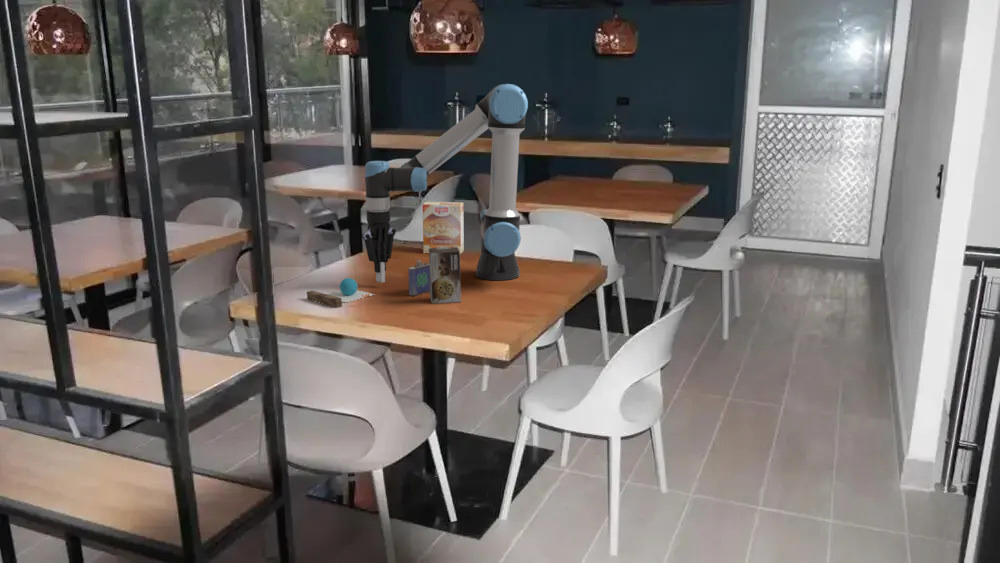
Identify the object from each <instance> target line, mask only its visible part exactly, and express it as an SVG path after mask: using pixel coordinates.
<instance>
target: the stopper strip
mask: <svg viewBox="0 0 1000 563" xmlns="http://www.w3.org/2000/svg"><path fill="white" fill-rule="evenodd" d="M327 294H328V293H323V292H319V291H316V290H308V291H306V298H307V299H309V300H308V301H311V300H313V301H312V302H314V301H316V302H315V303H318V302H320V303H319V304H321V303H323V305H325V304H326V305H325V306H328V305H330V306H329V307H332V306H333V308H336V309H337V307H338V308H341V307H343V304H342V303H343V302H342V299H341V298H338V297H335V296H331V295H327Z"/></svg>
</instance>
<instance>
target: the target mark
mask: <svg viewBox="0 0 1000 563" xmlns="http://www.w3.org/2000/svg"><path fill="white" fill-rule="evenodd" d="M326 294H327V295H331V296H335V297H338V298H341V299H342V303H343V302H345V303H344V304H346V302H348V303H350V301H351V302H355V301H357V299H359V300H361V299H360V298H362V299H365V298H364V297H362V295H364V296H365V295H366V294H367V295H368V294H369V295H370V297H373V296H372V295H374V296H375V295H376V294H374V293H371V292H367V291H363V290H358V289H357V291H356V292H355V293H354V294H353V295H344V294H343V293H342V292H341V290H337V291H333V292H329V293H326ZM354 300H355V301H354Z"/></svg>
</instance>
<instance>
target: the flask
mask: <svg viewBox="0 0 1000 563" xmlns="http://www.w3.org/2000/svg"><path fill="white" fill-rule="evenodd" d="M415 263H416V265H414V266H411V267H408V296H410V297H413V296H415V297H417V296H419V295H423V294H426V293H430V270H429V262H423V263H422V261H421V260H419V259H417V260H415Z"/></svg>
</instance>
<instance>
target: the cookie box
mask: <svg viewBox="0 0 1000 563" xmlns="http://www.w3.org/2000/svg"><path fill="white" fill-rule="evenodd" d="M428 260H429V261H428V264H429V270H430V292H429V298H430V302H431V304H433V305H434V304H448V303H450V304H451V303H461V302H462V298H461V296H462V293H461V292H462V291H461V290H462V288H461V255H460V251H459V249H458V248H457V247H449V248H429V254H428Z"/></svg>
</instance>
